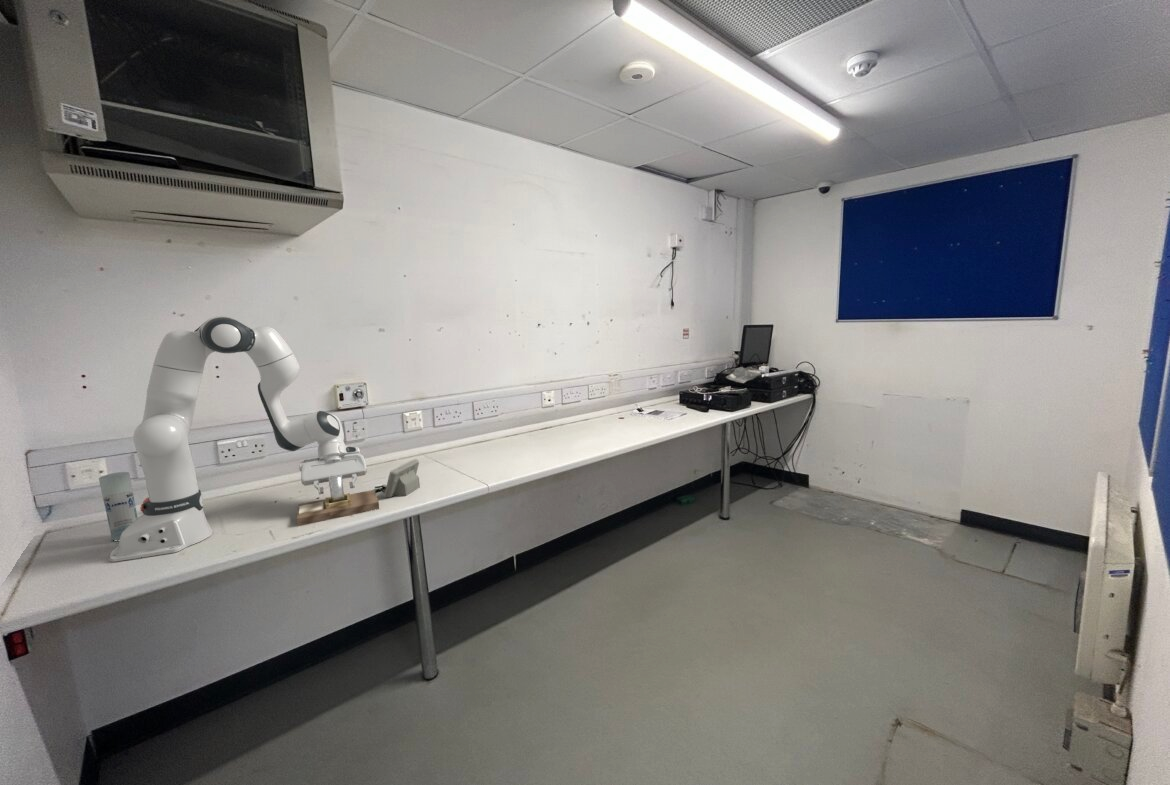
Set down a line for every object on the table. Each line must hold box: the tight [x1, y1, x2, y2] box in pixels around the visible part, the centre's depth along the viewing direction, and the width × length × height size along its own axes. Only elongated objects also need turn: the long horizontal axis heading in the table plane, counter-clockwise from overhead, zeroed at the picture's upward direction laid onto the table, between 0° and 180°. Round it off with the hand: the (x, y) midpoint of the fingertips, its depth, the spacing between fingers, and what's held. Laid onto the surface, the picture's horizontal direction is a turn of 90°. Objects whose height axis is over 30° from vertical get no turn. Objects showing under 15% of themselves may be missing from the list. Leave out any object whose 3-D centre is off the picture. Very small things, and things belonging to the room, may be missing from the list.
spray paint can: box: [98, 471, 139, 541], centre depth 139 cm, size 6×6×20 cm
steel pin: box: [328, 475, 345, 503], centre depth 156 cm, size 4×4×12 cm
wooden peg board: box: [296, 489, 380, 527], centre depth 156 cm, size 24×14×4 cm, turn 120°
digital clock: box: [384, 458, 421, 498], centre depth 172 cm, size 16×9×11 cm, turn 155°
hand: (336, 490), depth 155 cm, fingers open, 8 cm apart
